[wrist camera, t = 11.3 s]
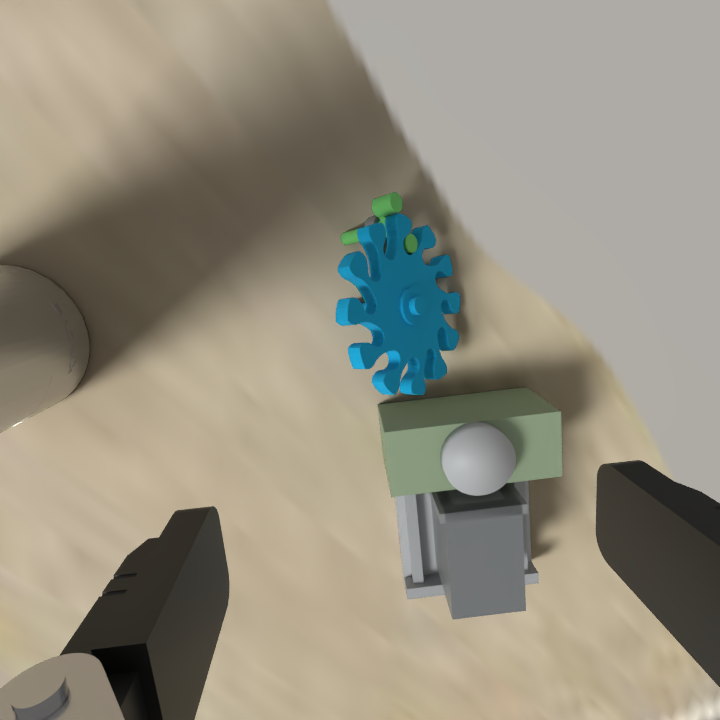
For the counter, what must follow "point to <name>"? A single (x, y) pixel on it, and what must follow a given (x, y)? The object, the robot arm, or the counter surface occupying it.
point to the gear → (398, 300)
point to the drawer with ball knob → (463, 463)
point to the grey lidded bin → (480, 550)
